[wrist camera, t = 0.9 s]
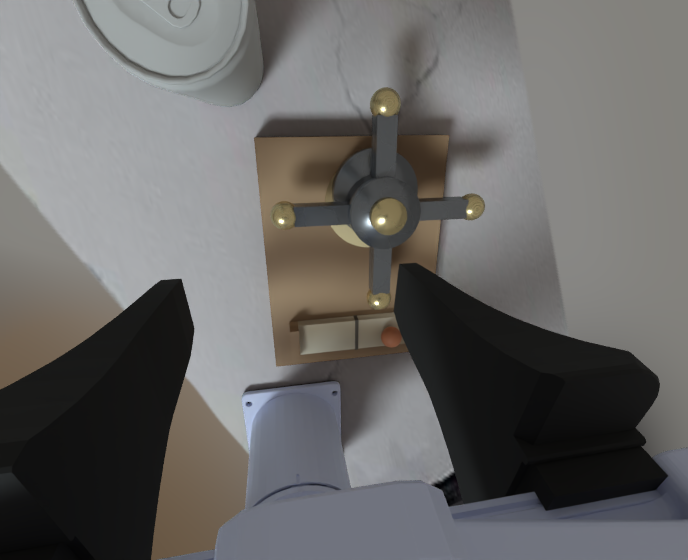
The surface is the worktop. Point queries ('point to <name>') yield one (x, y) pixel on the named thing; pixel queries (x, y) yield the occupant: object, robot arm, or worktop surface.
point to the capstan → (377, 199)
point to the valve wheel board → (335, 249)
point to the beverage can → (182, 44)
